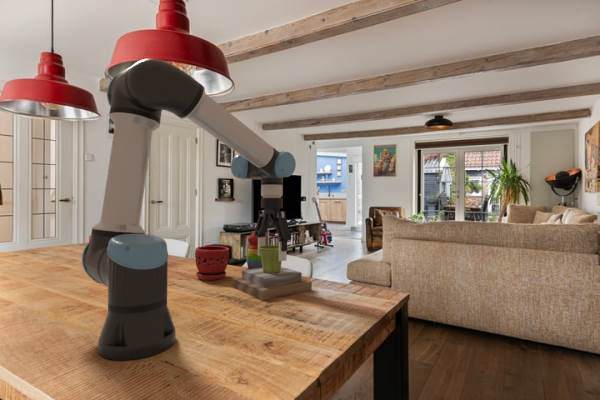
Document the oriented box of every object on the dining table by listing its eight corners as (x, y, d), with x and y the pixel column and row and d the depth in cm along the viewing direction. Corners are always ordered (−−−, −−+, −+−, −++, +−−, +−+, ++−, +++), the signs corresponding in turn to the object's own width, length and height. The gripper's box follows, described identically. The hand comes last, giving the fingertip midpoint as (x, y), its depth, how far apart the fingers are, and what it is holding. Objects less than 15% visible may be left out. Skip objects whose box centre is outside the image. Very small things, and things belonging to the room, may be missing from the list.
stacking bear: (251, 270, 152) (251, 229, 152) (273, 271, 149) (273, 230, 149) (240, 275, 142) (240, 231, 142) (262, 277, 139) (262, 232, 139)
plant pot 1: (211, 283, 129) (211, 251, 129) (188, 278, 136) (188, 247, 136) (236, 276, 140) (236, 246, 140) (213, 272, 147) (213, 244, 147)
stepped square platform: (311, 290, 120) (311, 272, 120) (261, 300, 108) (261, 281, 108) (279, 279, 136) (279, 263, 136) (232, 286, 124) (232, 270, 124)
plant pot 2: (254, 274, 118) (255, 248, 117) (261, 268, 127) (261, 244, 127) (282, 275, 116) (282, 249, 116) (287, 269, 126) (287, 245, 125)
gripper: (302, 197, 114) (301, 262, 114) (262, 197, 134) (262, 252, 134) (283, 197, 109) (282, 264, 109) (245, 197, 129) (245, 254, 129)
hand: (271, 257), depth 122 cm, fingers open, 13 cm apart
